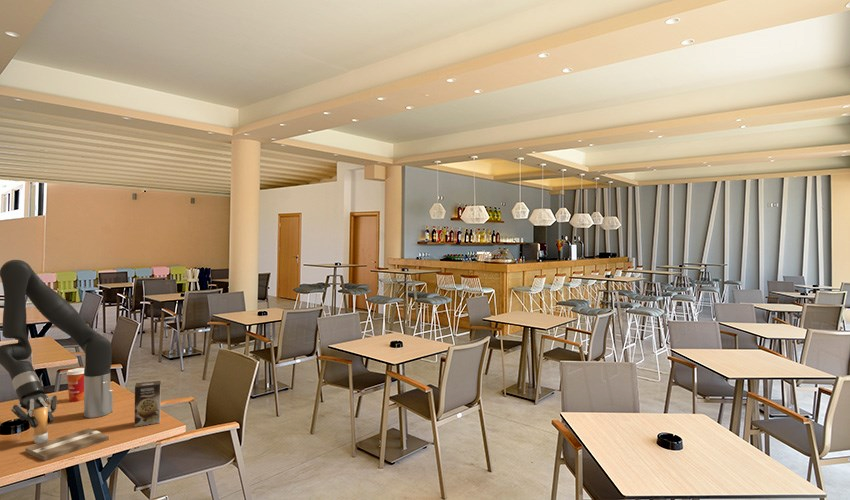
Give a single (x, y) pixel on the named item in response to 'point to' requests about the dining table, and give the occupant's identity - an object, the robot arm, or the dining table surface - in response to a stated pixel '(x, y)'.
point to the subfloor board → (66, 444)
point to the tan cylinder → (41, 425)
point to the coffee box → (147, 403)
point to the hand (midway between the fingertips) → (43, 424)
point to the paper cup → (76, 384)
